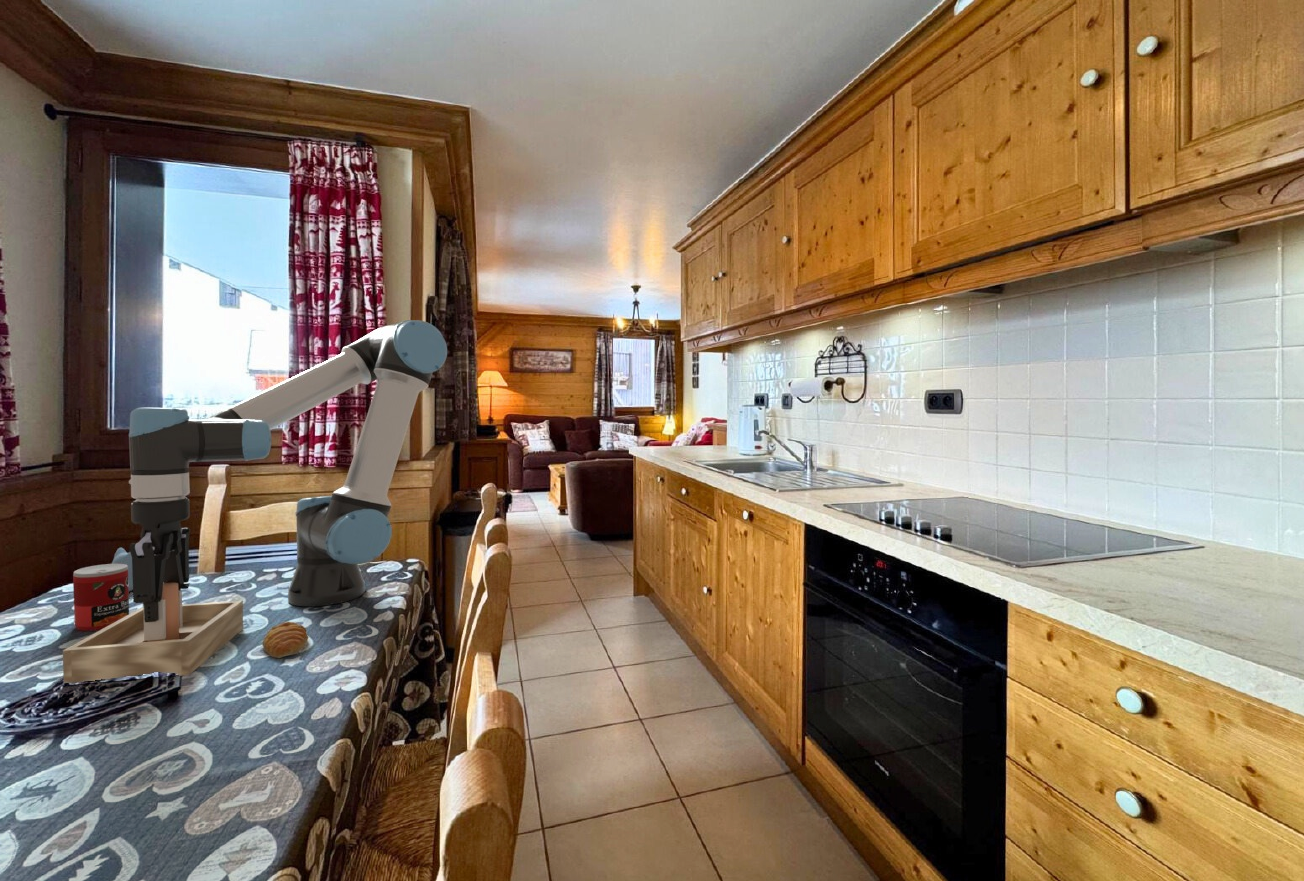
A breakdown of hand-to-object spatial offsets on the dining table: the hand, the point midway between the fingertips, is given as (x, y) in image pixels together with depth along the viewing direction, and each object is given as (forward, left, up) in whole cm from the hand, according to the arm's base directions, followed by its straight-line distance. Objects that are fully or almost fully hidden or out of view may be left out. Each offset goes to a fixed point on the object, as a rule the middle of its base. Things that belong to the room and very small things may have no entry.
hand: (163, 633), depth 97 cm
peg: (0, 0, -4) cm, 4 cm away
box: (0, 0, -4) cm, 4 cm away
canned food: (+19, -19, -4) cm, 27 cm away
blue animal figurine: (+26, -43, -4) cm, 50 cm away
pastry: (-19, +2, -4) cm, 20 cm away
